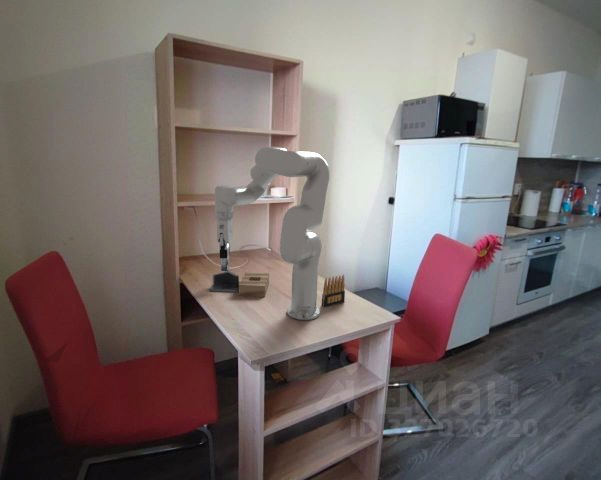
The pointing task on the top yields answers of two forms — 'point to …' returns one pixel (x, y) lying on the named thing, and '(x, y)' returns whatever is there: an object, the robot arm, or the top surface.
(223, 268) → the axle
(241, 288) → the wooden block with hole
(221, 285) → the v block
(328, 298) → the ammunition clip
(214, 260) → the top surface
